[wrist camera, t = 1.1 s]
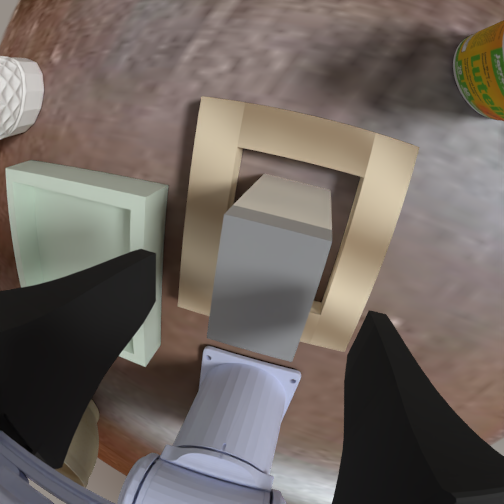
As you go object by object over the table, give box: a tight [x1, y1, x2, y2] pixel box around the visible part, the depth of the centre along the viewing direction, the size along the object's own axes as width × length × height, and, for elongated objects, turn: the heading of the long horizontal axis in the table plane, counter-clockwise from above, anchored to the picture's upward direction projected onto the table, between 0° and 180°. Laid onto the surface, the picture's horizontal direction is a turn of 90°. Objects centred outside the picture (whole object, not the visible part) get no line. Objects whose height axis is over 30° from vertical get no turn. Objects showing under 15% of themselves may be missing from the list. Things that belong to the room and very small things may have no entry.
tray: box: [6, 160, 169, 367], centre depth 23 cm, size 14×14×3 cm
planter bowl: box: [55, 399, 99, 488], centre depth 31 cm, size 16×16×11 cm
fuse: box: [207, 174, 332, 362], centre depth 16 cm, size 6×4×8 cm, turn 169°
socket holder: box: [178, 96, 419, 352], centre depth 19 cm, size 14×12×2 cm
